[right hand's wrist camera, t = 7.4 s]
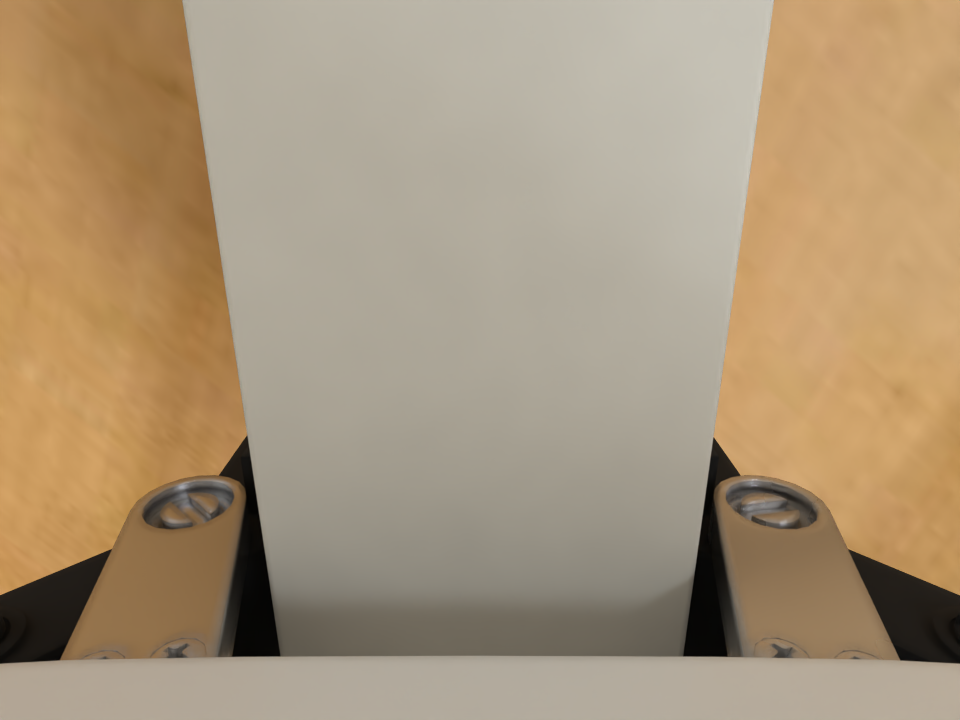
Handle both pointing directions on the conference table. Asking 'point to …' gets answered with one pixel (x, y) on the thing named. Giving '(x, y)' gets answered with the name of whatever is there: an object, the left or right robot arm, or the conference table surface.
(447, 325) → the bar
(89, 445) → the conference table surface
